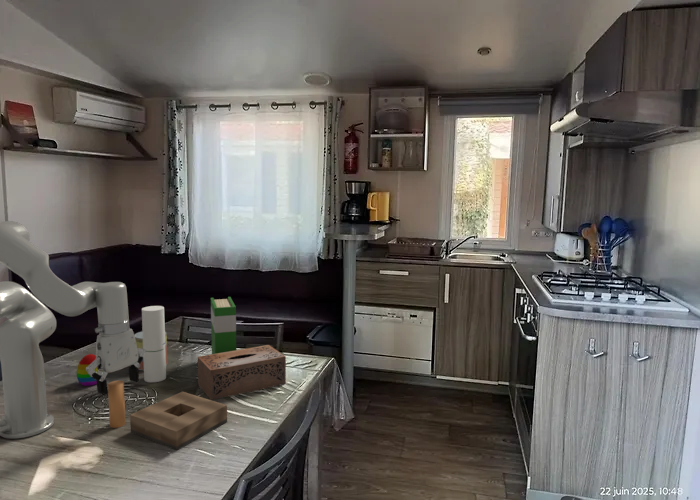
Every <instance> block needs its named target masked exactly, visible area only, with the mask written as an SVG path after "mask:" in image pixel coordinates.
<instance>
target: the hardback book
mask: <svg viewBox="0 0 700 500" xmlns="http://www.w3.org/2000/svg"><path fill="white" fill-rule="evenodd" d="M236 307H237V305H235V303H234V301H233V299H232V297H231V296H227V298H222V299H220V298H219V299H215V298H214V297H210V325H211V326H210V327H211V328H210V329H211V330H210V331H211V332H210V333H211V336H210V337H211V354H217V353H223V352H229V351H235V350H237V308H236Z"/></svg>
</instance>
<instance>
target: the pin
mask: <svg viewBox="0 0 700 500" xmlns="http://www.w3.org/2000/svg"><path fill="white" fill-rule="evenodd" d="M107 391H108V393H107V397H108V398H107V399H108V414H109V415H108V416H109V419H108V420H109V427H110V428H112V429H113V428H114V429H117V428H122V427H123V426H125V425H126V407H125V404H126V402H125V399H126V398H125V382H124V380H112V381H110V382H109V383H108V382H107Z"/></svg>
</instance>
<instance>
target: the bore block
mask: <svg viewBox="0 0 700 500" xmlns="http://www.w3.org/2000/svg"><path fill="white" fill-rule="evenodd" d="M129 421H130V424H129V425H130V433H132V434H134V435H137V436H140V437H141V438H144V439H148V440H149V441H153V442H155V443H158V444H159V445H162V446H165V447H168V448H170V449H173V450H175V451H179V449H182V448H183V447H185V446H187V445H188V444H191V443H193V442H195V441H196V440H198V439H199V438H201V437H203V436H205V435H206V434H209V433H210V432H212V431H214V430H215V429H217V428H218V427H221V426H223V425H224V424H226V423H228V404H224V403H221V402H218V401H215V400H211V399H210V398H209V399H208V398H205V397H201V396H199V395H195V394H192V393H188V392H186V391H181V392H179V393H176V394H174V395H172V396H169V397H167V398H165V399H163V400H160V401H158V402H156V403H153V404H150V405H148V406H147V407H143V408H142V409H140V410H138V411H136V412H133V413H131V414H129Z"/></svg>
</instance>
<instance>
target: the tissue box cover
mask: <svg viewBox="0 0 700 500" xmlns="http://www.w3.org/2000/svg"><path fill="white" fill-rule="evenodd" d="M286 358H287V356H286V355H284V354H283V353H281V352H280V351H279V350H278V349H276V348H274V347H273V346H272V345H270V344H266V345H260V346H254V347H248V348H241V349H236V350H235V351H229V352H223V353H217V354H212V353H211V354H206V355H202V356H201V355H200V356H197V385H198V386H199V387H200V389H201V390H202V391H203V392H204V394H205V395H206V396H207V397H208V398H209V400H212V401H215V400H218V399H222V398H226V397H231V396H236V395H241V394H244V393H245V394H246V393H249V392H254V391H260V390H263V389H268V388H272V387H278V386H282V385H286V384H287V382H286V381H287V380H286V377H287V376H286V375H287V373H286V368H287V367H286V365H287V363H286V361H287V359H286ZM277 385H278V386H277Z"/></svg>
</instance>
